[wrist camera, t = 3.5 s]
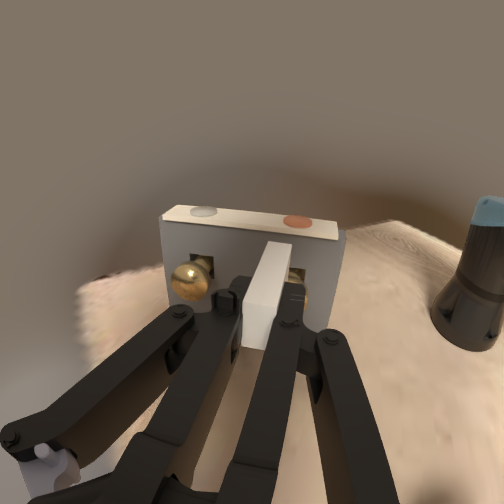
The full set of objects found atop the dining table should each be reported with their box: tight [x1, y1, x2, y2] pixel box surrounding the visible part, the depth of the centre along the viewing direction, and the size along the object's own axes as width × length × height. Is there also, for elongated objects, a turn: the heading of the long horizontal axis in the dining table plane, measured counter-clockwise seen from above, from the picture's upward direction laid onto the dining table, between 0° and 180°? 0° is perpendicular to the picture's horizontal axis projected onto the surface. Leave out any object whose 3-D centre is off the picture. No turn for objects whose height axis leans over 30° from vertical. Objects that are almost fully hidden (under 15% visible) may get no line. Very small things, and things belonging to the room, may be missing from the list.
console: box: [159, 205, 346, 333], centre depth 36 cm, size 6×22×17 cm, turn 77°
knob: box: [170, 255, 214, 301], centre depth 35 cm, size 9×4×4 cm, turn 167°
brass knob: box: [288, 267, 308, 310], centre depth 33 cm, size 9×4×4 cm, turn 167°
